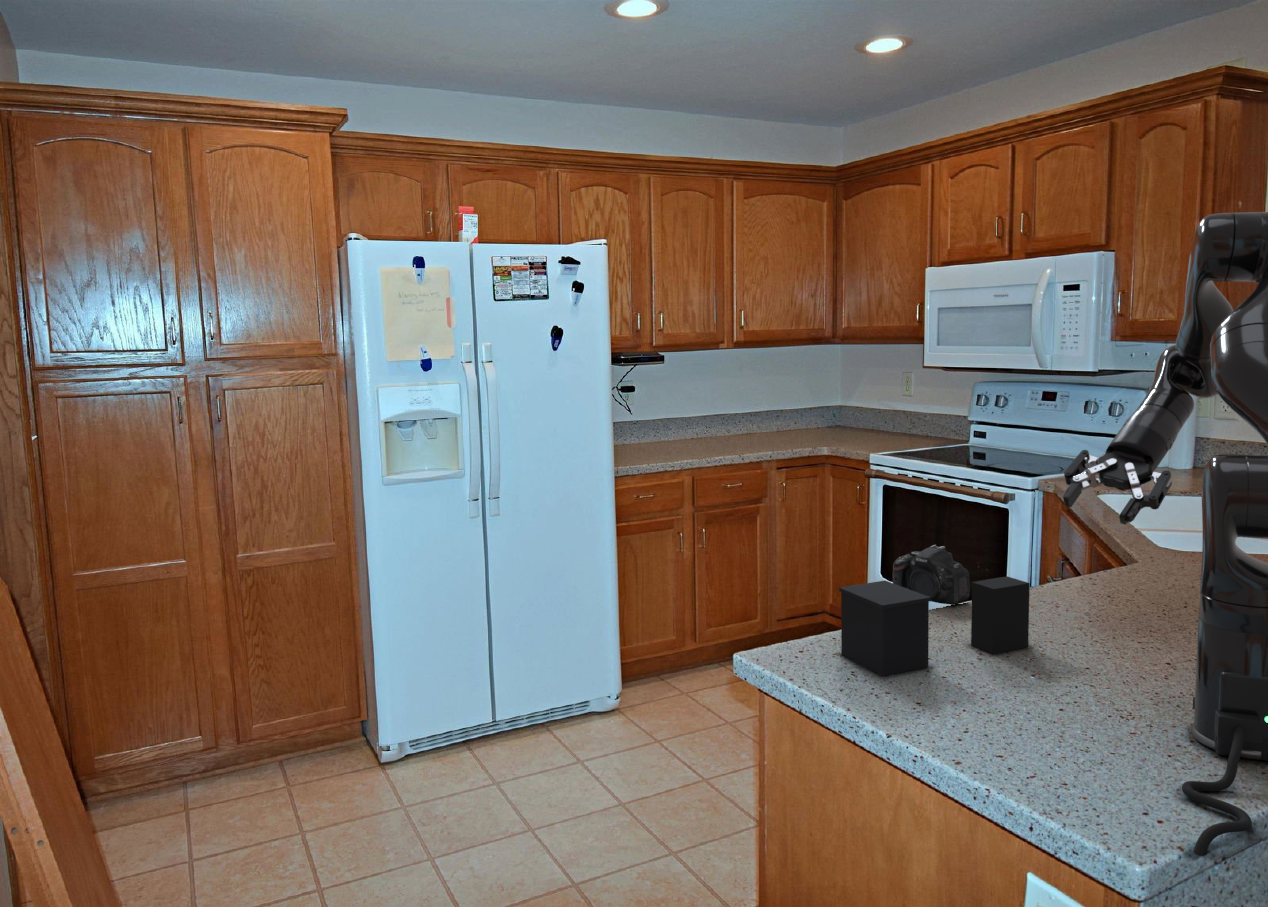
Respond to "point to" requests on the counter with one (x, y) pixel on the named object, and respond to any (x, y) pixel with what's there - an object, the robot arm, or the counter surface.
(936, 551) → the camera
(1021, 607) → the upright black block
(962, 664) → the counter surface
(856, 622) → the black lidded box
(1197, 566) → the counter surface
